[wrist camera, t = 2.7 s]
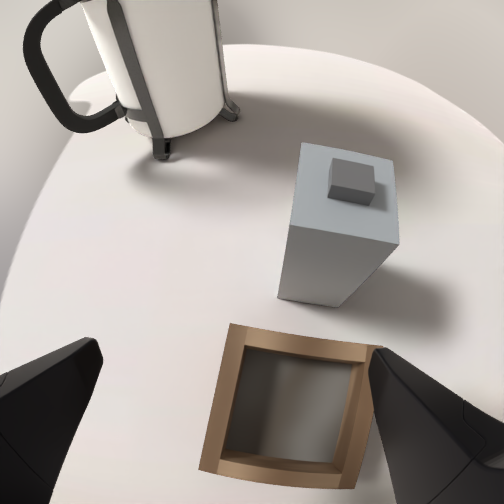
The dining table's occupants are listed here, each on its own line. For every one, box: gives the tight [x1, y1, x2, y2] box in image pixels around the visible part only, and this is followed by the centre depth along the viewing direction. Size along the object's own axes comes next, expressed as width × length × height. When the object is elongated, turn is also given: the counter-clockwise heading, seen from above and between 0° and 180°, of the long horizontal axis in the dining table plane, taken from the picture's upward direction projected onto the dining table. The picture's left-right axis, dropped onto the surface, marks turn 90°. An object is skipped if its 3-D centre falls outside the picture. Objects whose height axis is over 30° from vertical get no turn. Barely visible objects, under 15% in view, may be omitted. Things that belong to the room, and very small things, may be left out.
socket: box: [198, 323, 383, 489], centre depth 18 cm, size 10×10×4 cm
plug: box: [277, 142, 399, 308], centre depth 18 cm, size 5×5×13 cm
